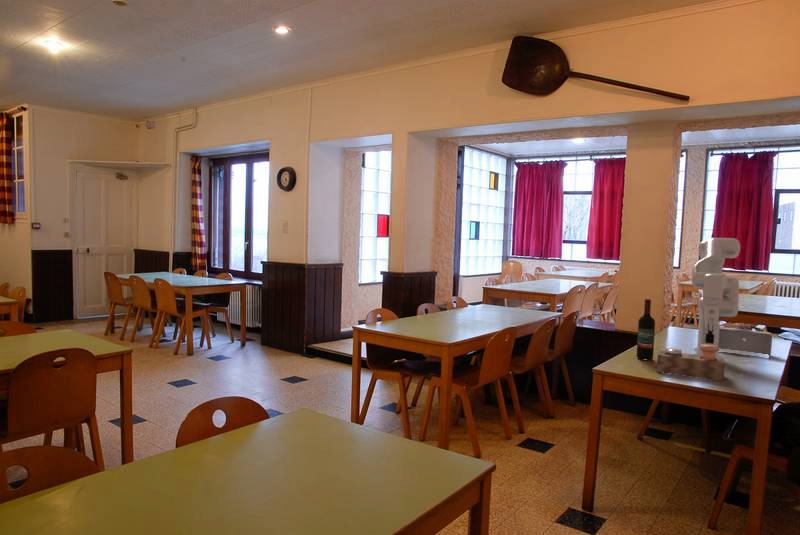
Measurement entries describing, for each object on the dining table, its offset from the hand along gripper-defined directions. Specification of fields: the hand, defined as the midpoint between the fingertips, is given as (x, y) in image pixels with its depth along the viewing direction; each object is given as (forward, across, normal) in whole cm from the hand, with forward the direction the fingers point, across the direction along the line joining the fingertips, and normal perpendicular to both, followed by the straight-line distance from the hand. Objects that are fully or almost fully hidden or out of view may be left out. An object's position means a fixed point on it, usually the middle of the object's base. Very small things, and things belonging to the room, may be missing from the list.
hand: (709, 342), depth 236 cm
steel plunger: (+14, 0, +14) cm, 20 cm away
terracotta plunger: (+10, 0, 0) cm, 10 cm away
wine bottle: (+15, +21, +27) cm, 37 cm away
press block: (+15, 0, +7) cm, 17 cm away
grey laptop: (+15, +68, -18) cm, 71 cm away
